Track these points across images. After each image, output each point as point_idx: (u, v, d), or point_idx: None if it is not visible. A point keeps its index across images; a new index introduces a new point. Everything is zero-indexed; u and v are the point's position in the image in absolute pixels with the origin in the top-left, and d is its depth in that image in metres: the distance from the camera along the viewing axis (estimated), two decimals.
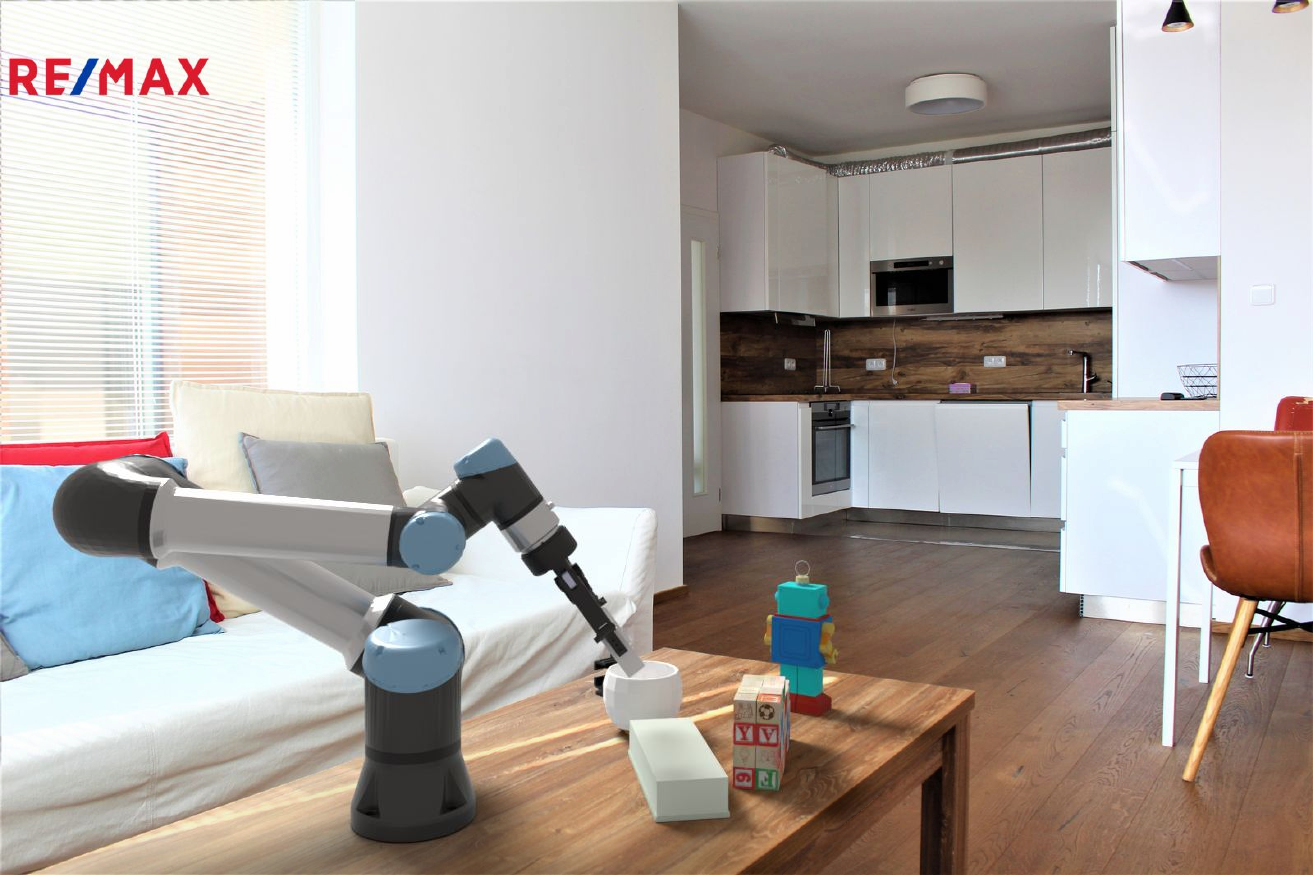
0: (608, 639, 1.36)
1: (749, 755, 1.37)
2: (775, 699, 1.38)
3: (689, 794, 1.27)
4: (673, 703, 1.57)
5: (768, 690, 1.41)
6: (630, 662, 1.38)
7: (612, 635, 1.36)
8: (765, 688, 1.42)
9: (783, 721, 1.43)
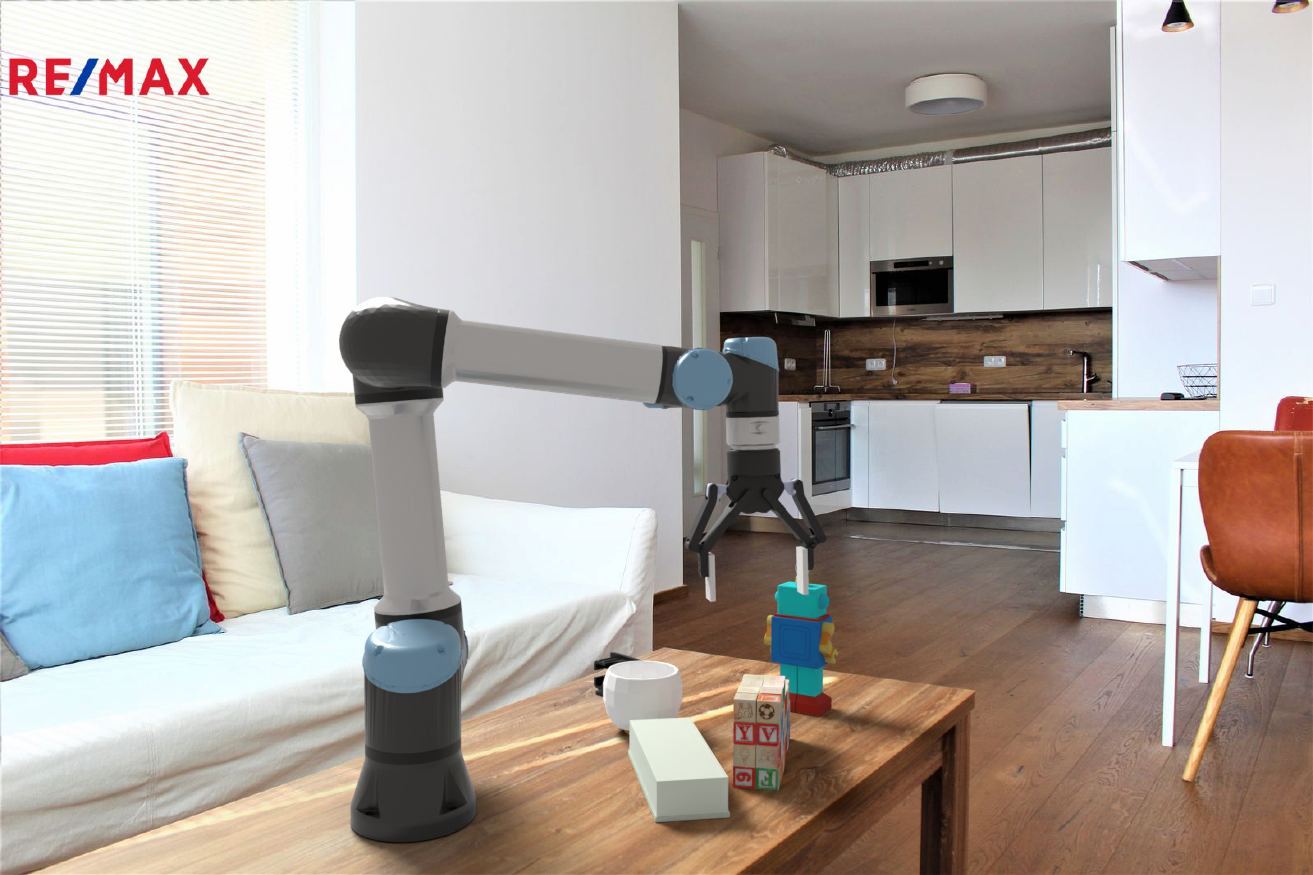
0: (698, 555, 1.45)
1: (749, 755, 1.37)
2: (775, 698, 1.38)
3: (689, 794, 1.27)
4: (673, 703, 1.57)
5: (768, 690, 1.41)
6: (708, 588, 1.45)
7: (699, 555, 1.44)
8: (765, 688, 1.42)
9: (783, 721, 1.43)
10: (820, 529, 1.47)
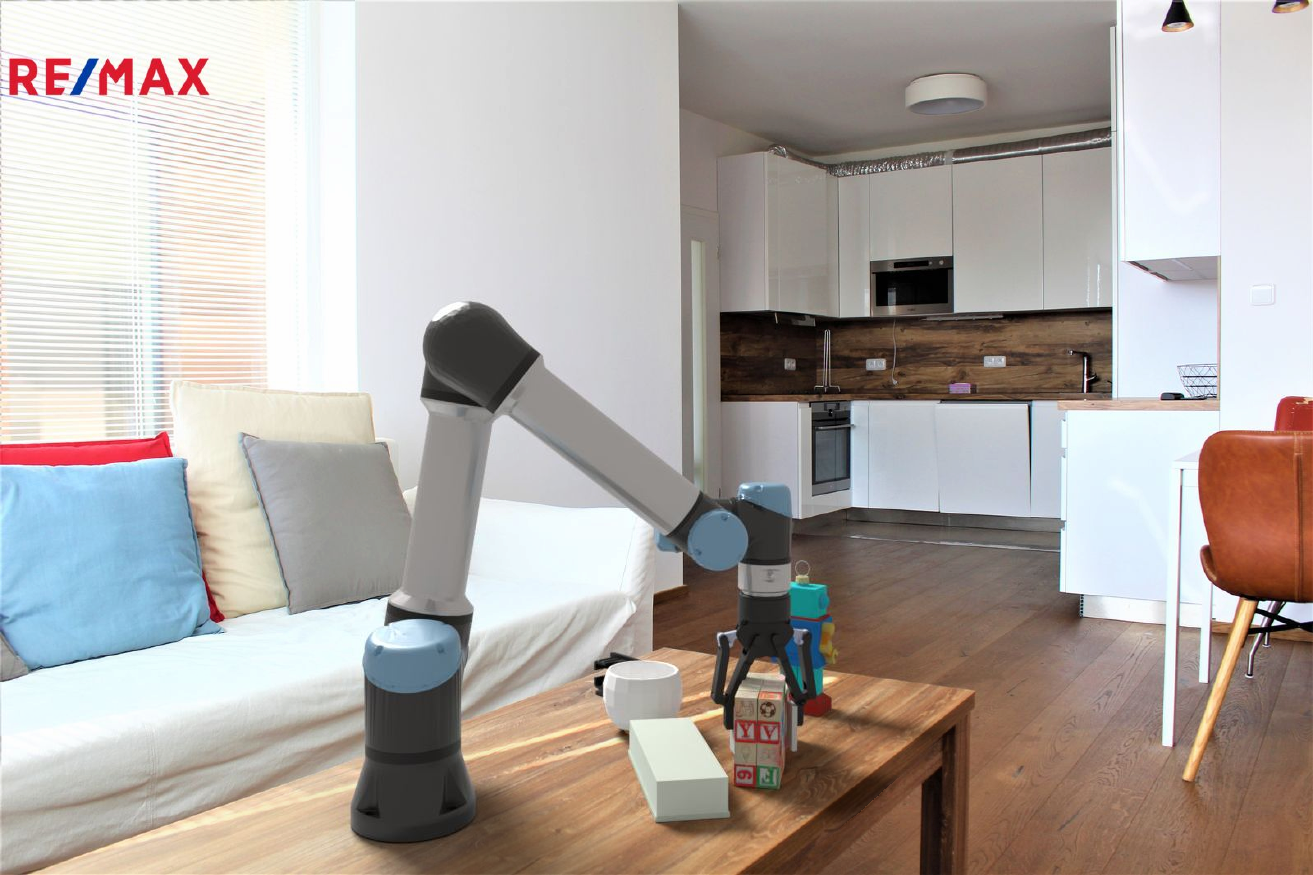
0: (723, 707, 1.47)
1: (750, 752, 1.38)
2: (777, 696, 1.38)
3: (689, 794, 1.27)
4: (673, 703, 1.57)
5: (769, 688, 1.41)
6: (732, 740, 1.47)
7: (724, 708, 1.46)
8: (766, 686, 1.42)
9: (784, 719, 1.43)
10: (813, 686, 1.47)
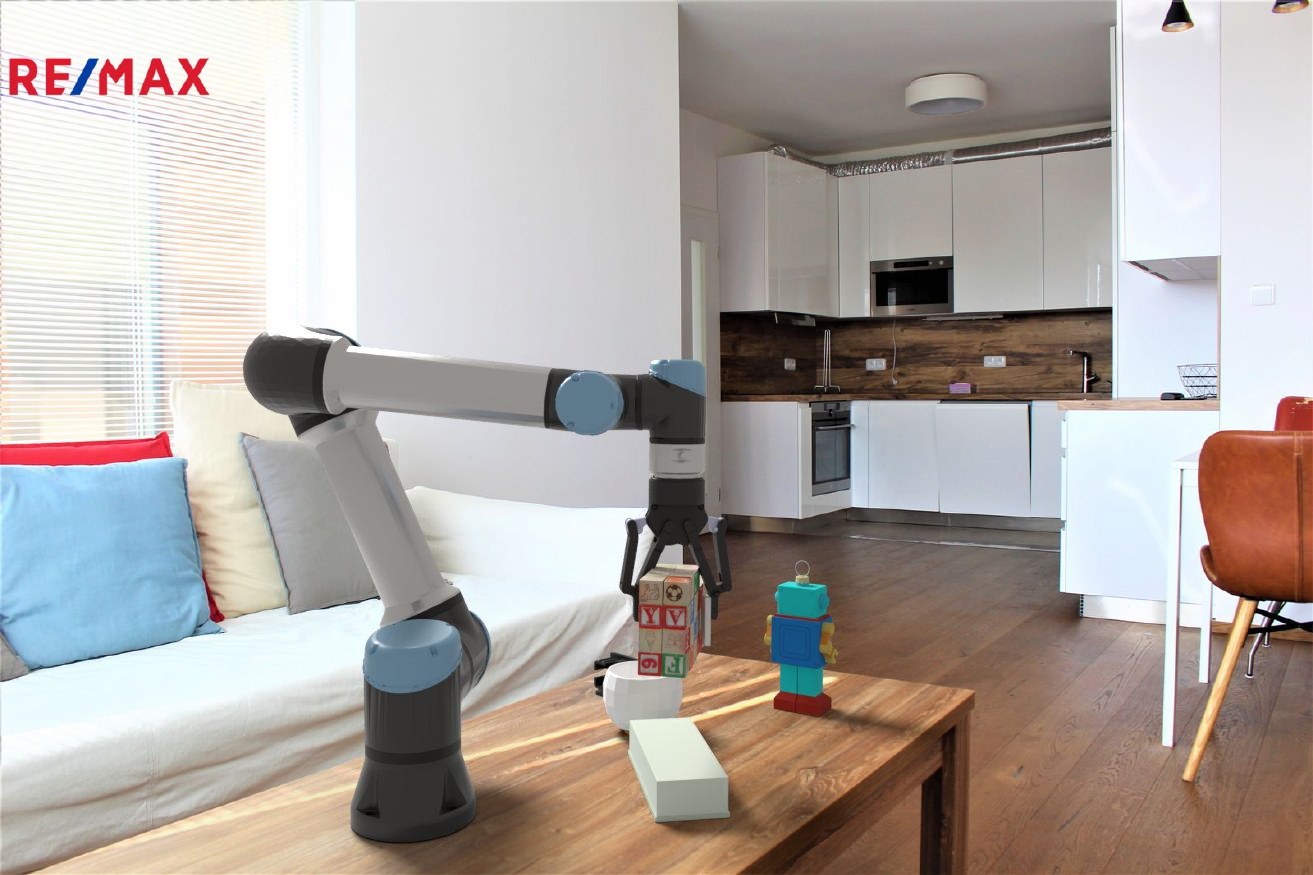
0: None
1: (655, 639, 1.29)
2: (684, 580, 1.30)
3: (689, 794, 1.27)
4: (673, 703, 1.57)
5: (678, 574, 1.33)
6: None
7: (633, 598, 1.37)
8: (675, 572, 1.33)
9: (695, 608, 1.35)
10: (729, 577, 1.38)
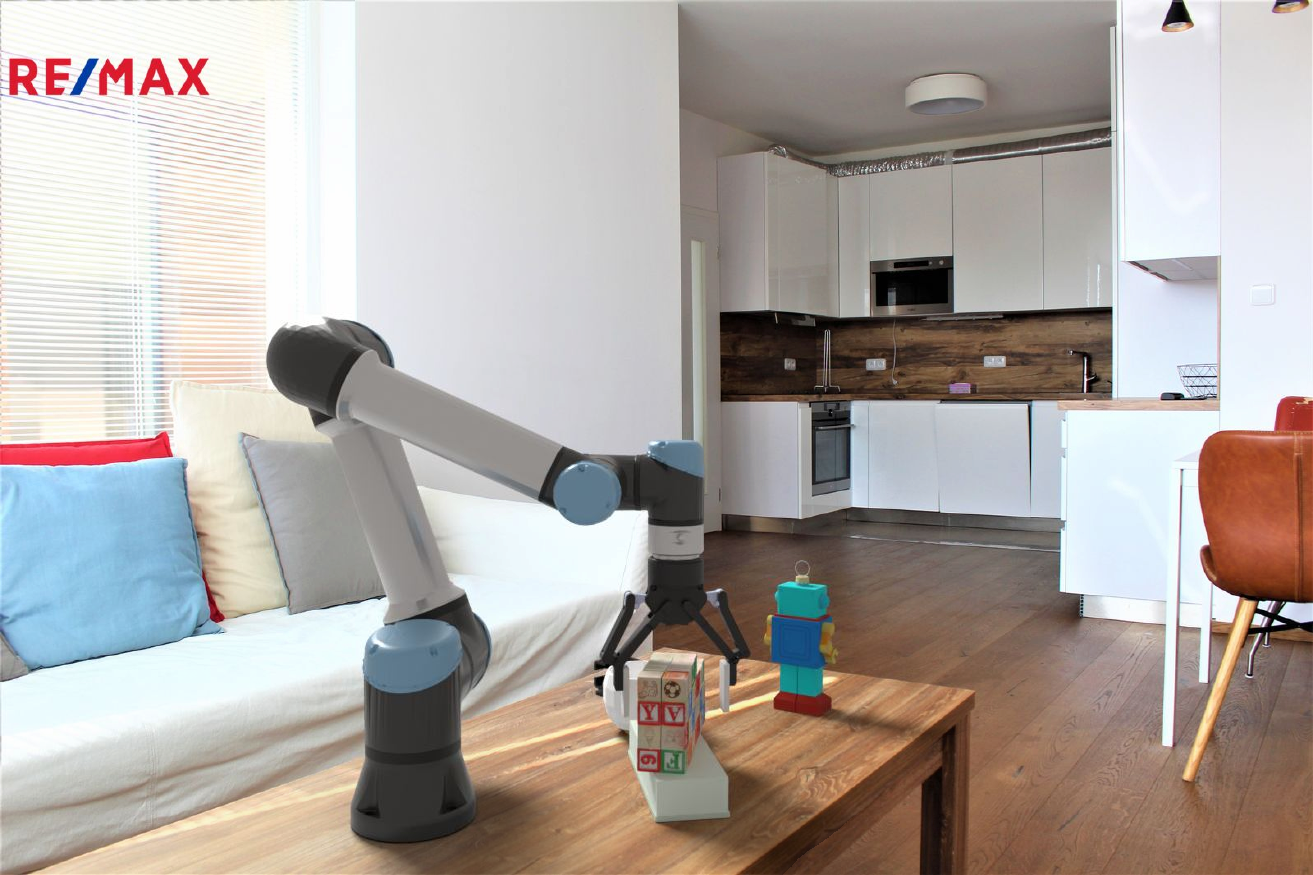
0: (613, 667, 1.38)
1: (654, 736, 1.29)
2: (682, 676, 1.30)
3: (689, 794, 1.27)
4: None
5: (676, 667, 1.33)
6: (622, 702, 1.38)
7: (613, 668, 1.37)
8: (673, 665, 1.34)
9: (692, 700, 1.35)
10: (744, 643, 1.39)
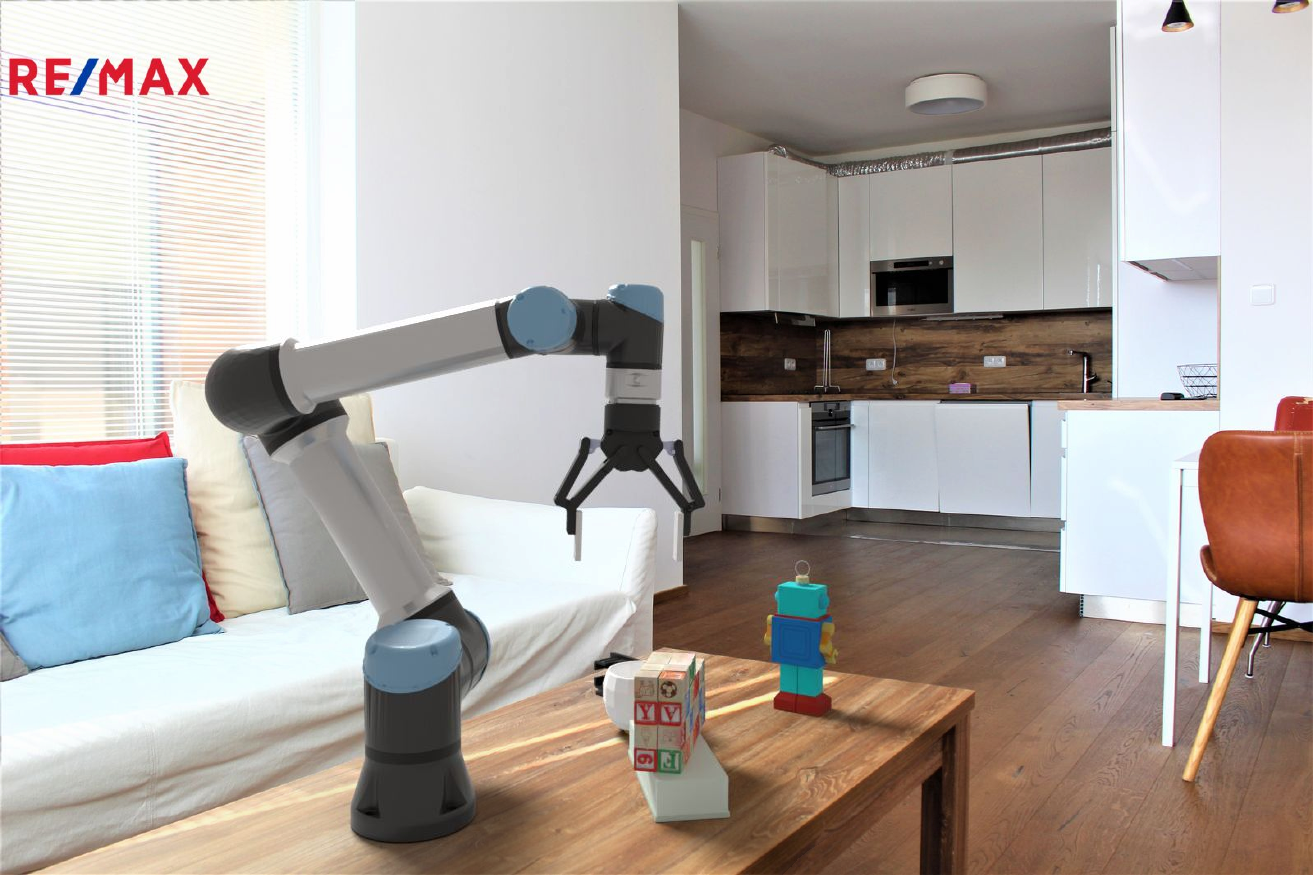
0: None
1: (651, 735, 1.29)
2: (679, 676, 1.30)
3: (689, 794, 1.27)
4: None
5: (673, 667, 1.33)
6: (574, 547, 1.37)
7: (567, 511, 1.37)
8: (670, 665, 1.34)
9: (690, 700, 1.35)
10: (699, 493, 1.39)
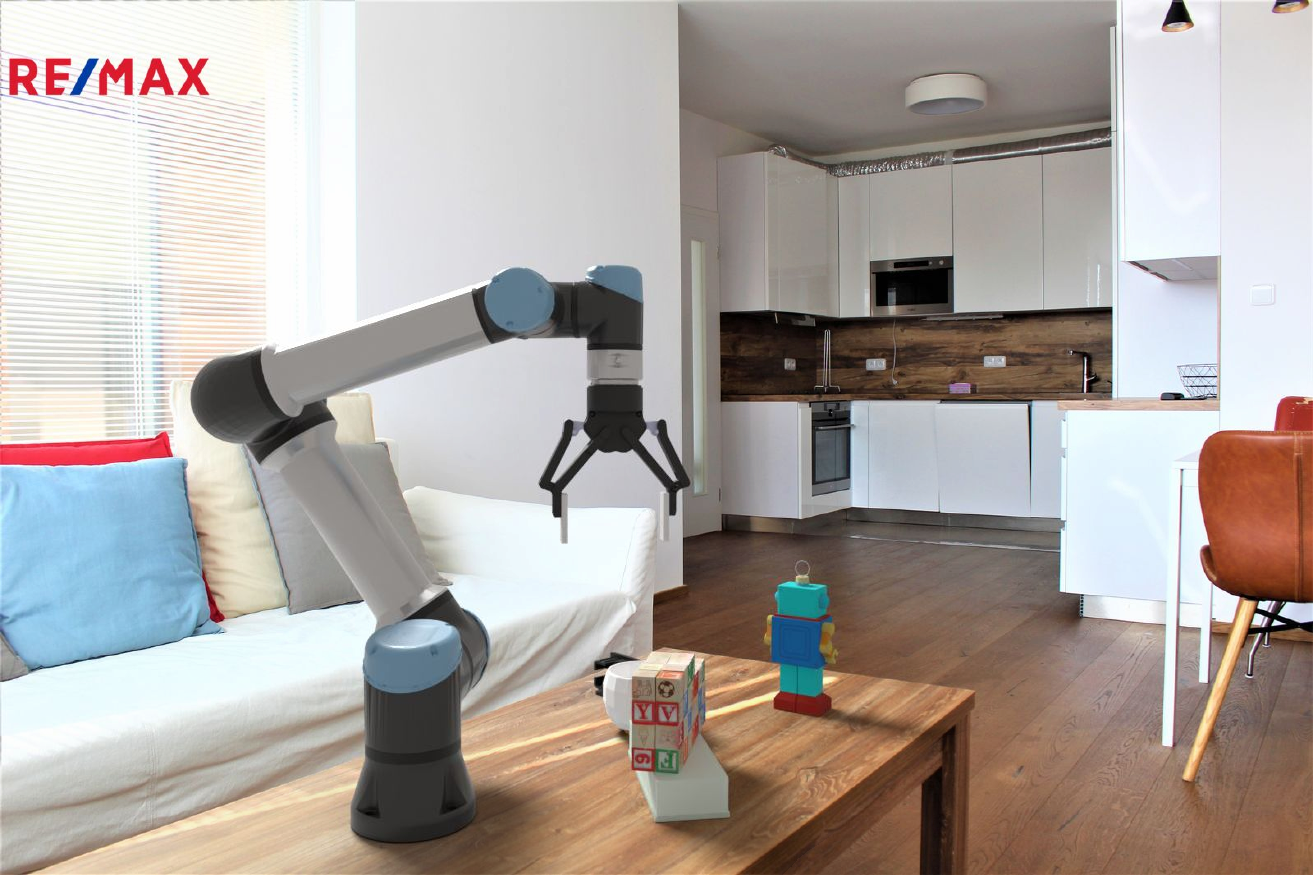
0: None
1: (648, 735, 1.30)
2: (677, 676, 1.30)
3: (689, 794, 1.27)
4: None
5: (671, 667, 1.33)
6: (561, 530, 1.37)
7: (552, 494, 1.37)
8: (669, 665, 1.34)
9: (688, 700, 1.35)
10: (684, 473, 1.39)
